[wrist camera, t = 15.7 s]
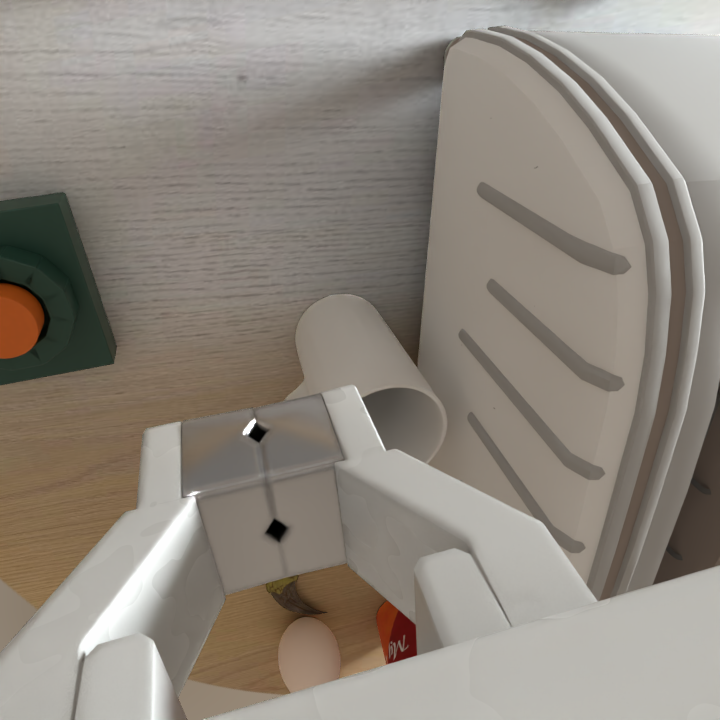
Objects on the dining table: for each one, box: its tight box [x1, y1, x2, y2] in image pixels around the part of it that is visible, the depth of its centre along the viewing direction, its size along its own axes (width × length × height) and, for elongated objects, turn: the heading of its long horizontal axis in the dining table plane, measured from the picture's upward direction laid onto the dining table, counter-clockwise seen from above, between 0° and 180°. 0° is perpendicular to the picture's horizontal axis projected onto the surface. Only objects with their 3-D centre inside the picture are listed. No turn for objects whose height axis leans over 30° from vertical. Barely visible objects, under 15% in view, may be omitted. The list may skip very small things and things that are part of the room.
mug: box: [284, 294, 447, 464], centre depth 37 cm, size 10×7×12 cm, turn 128°
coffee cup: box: [376, 600, 417, 664], centre depth 54 cm, size 8×8×15 cm
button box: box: [0, 192, 117, 385], centre depth 33 cm, size 10×8×4 cm
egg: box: [278, 617, 341, 693], centre depth 54 cm, size 6×6×8 cm
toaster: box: [417, 26, 720, 601], centre depth 38 cm, size 21×45×22 cm, turn 178°
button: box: [0, 283, 44, 359], centre depth 31 cm, size 4×4×2 cm
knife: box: [266, 574, 327, 614], centre depth 52 cm, size 14×1×5 cm
